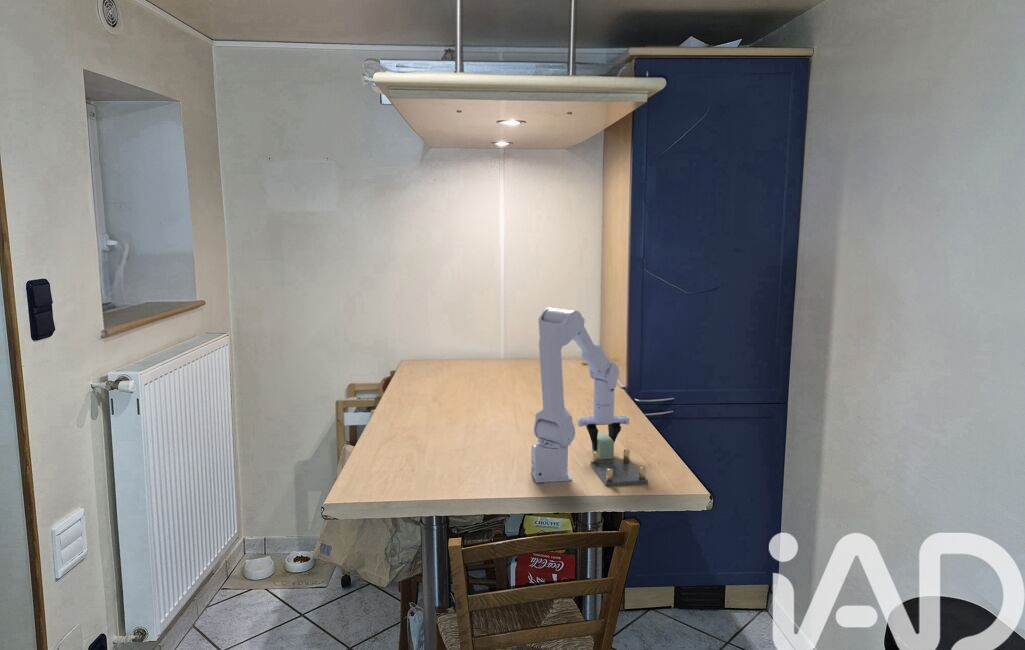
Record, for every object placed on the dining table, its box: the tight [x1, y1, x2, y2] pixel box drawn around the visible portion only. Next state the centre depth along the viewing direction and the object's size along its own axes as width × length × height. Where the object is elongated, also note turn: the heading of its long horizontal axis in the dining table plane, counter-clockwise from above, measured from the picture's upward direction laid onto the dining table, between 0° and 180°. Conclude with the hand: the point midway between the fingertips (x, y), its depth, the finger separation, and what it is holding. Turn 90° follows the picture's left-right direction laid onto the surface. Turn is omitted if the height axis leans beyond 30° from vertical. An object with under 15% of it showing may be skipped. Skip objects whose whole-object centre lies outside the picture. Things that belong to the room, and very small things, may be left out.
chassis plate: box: [590, 448, 649, 487], centre depth 183 cm, size 11×15×4 cm
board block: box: [591, 432, 615, 460], centre depth 197 cm, size 4×8×5 cm, turn 9°
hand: (602, 449), depth 197 cm, fingers closed on board block, 4 cm apart
